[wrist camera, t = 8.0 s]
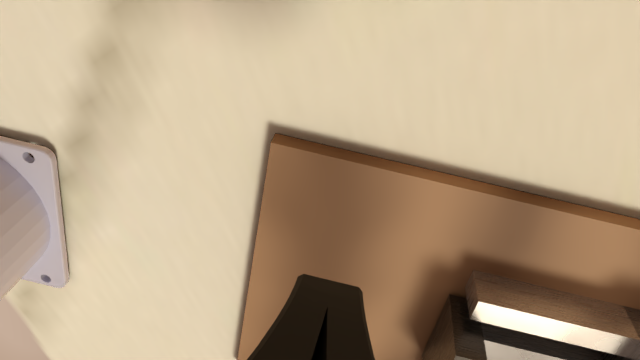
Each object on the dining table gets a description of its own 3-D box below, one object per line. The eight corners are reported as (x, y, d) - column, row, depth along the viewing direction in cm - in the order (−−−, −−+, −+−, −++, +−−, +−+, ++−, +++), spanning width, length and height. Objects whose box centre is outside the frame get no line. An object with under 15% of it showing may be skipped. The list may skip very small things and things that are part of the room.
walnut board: (239, 362, 27) (235, 374, 27) (275, 133, 20) (270, 142, 19) (570, 444, 27) (575, 458, 26) (735, 242, 19) (747, 255, 19)
